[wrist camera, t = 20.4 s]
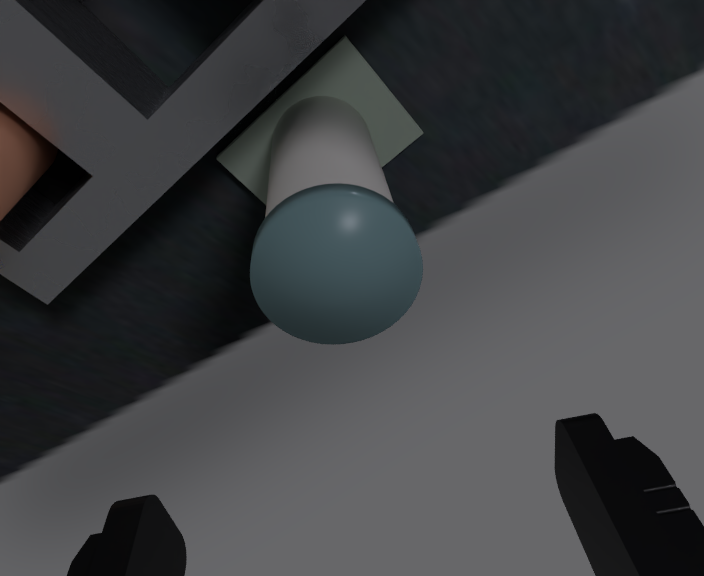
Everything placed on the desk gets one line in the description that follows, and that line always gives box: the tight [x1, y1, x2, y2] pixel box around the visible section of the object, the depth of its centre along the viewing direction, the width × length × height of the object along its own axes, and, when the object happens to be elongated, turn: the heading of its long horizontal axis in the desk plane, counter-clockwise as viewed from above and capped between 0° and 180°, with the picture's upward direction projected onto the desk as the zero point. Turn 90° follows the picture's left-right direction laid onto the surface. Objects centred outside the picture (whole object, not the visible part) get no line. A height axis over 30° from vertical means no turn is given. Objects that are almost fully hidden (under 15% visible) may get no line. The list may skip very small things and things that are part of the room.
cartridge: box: [250, 96, 423, 344], centre depth 22 cm, size 5×5×11 cm
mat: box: [216, 35, 423, 205], centre depth 27 cm, size 8×6×1 cm
